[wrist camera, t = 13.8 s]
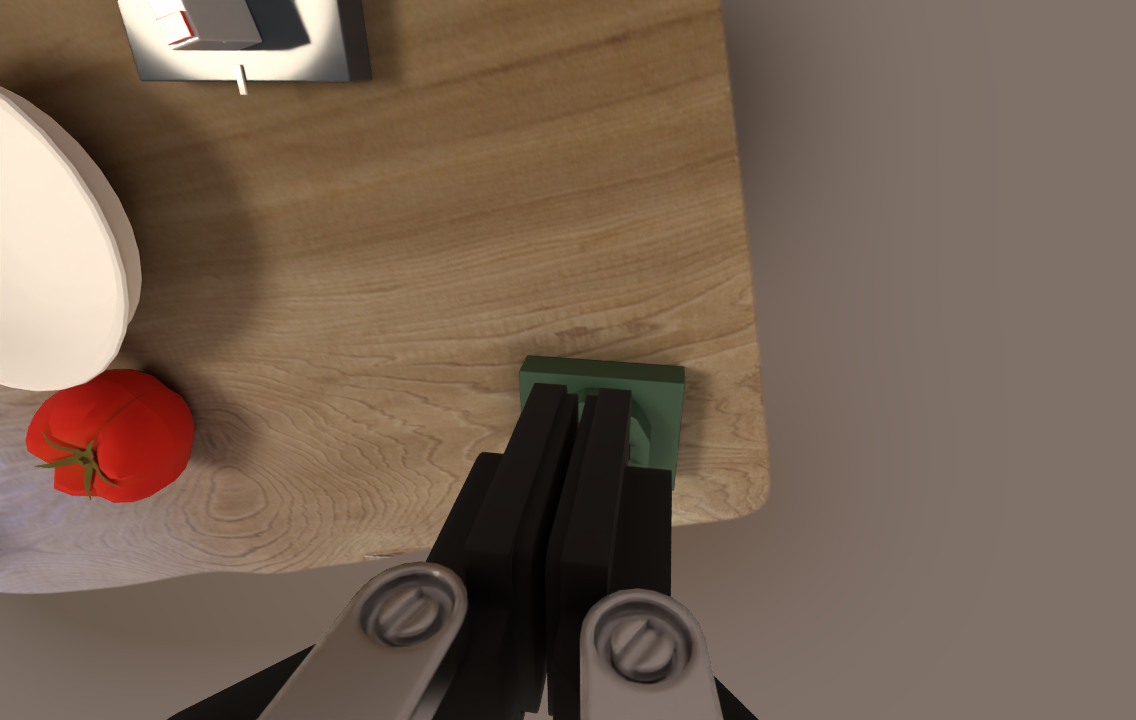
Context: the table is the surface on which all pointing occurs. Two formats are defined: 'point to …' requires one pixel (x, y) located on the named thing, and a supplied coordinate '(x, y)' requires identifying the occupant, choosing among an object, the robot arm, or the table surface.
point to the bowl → (59, 256)
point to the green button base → (650, 406)
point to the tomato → (113, 436)
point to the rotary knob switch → (261, 45)
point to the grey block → (206, 24)
